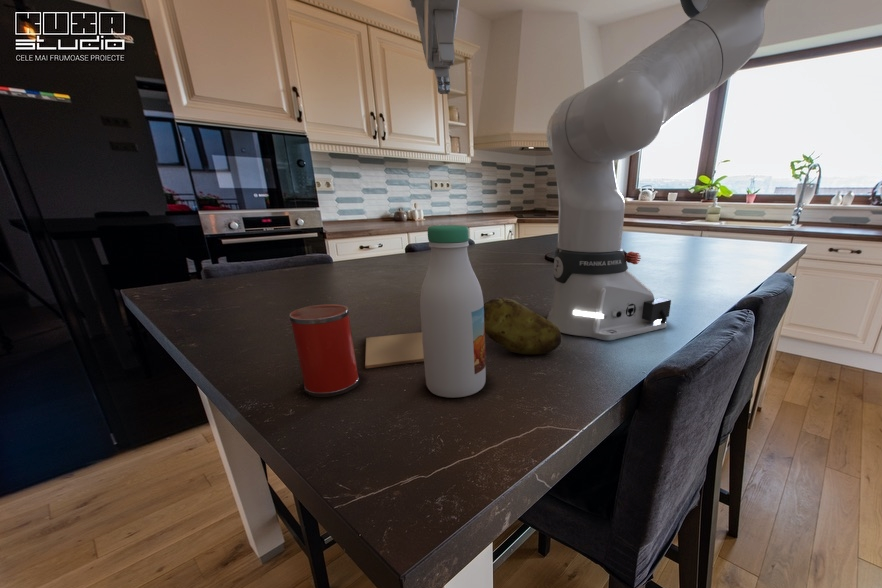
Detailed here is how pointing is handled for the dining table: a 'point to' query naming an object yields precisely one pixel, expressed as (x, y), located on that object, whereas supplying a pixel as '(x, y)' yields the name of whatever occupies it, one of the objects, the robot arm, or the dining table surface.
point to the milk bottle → (452, 316)
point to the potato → (519, 328)
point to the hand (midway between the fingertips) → (445, 79)
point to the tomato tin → (325, 349)
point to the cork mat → (394, 350)
